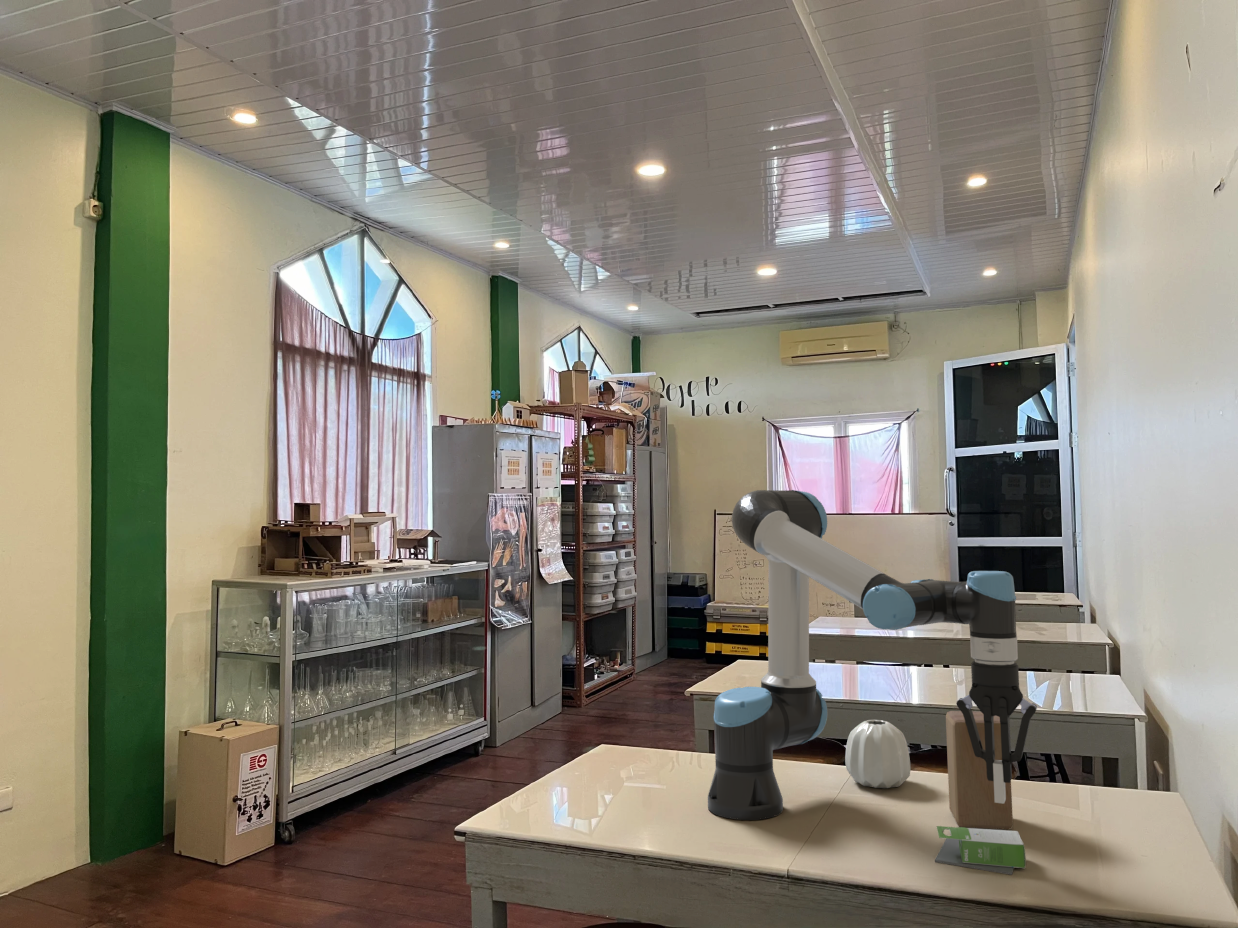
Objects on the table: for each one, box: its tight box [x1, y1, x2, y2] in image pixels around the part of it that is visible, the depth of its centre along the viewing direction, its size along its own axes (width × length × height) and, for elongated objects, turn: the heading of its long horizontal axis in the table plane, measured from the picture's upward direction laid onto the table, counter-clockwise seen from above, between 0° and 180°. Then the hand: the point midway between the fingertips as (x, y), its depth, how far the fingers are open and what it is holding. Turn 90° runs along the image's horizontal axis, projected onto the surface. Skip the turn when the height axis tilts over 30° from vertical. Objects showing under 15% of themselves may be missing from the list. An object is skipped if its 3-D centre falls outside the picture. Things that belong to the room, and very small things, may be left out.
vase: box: [844, 719, 911, 789], centre depth 196 cm, size 14×14×13 cm
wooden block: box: [945, 710, 1014, 831], centre depth 171 cm, size 10×10×20 cm
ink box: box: [936, 825, 1027, 869], centre depth 151 cm, size 7×4×13 cm
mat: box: [934, 838, 1015, 876], centre depth 153 cm, size 12×12×1 cm
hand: (1000, 800), depth 152 cm, fingers closed
